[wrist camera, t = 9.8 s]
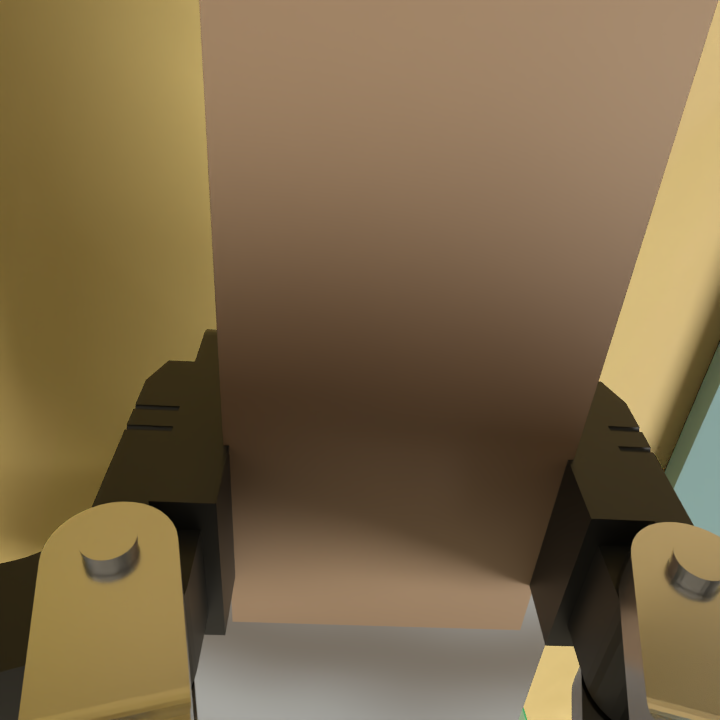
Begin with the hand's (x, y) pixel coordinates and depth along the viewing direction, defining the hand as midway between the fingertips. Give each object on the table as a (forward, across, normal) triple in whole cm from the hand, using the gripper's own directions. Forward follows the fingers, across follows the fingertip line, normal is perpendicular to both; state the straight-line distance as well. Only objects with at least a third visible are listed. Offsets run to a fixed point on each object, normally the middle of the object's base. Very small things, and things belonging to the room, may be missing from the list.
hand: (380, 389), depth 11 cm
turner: (+1, 0, +2) cm, 2 cm away
